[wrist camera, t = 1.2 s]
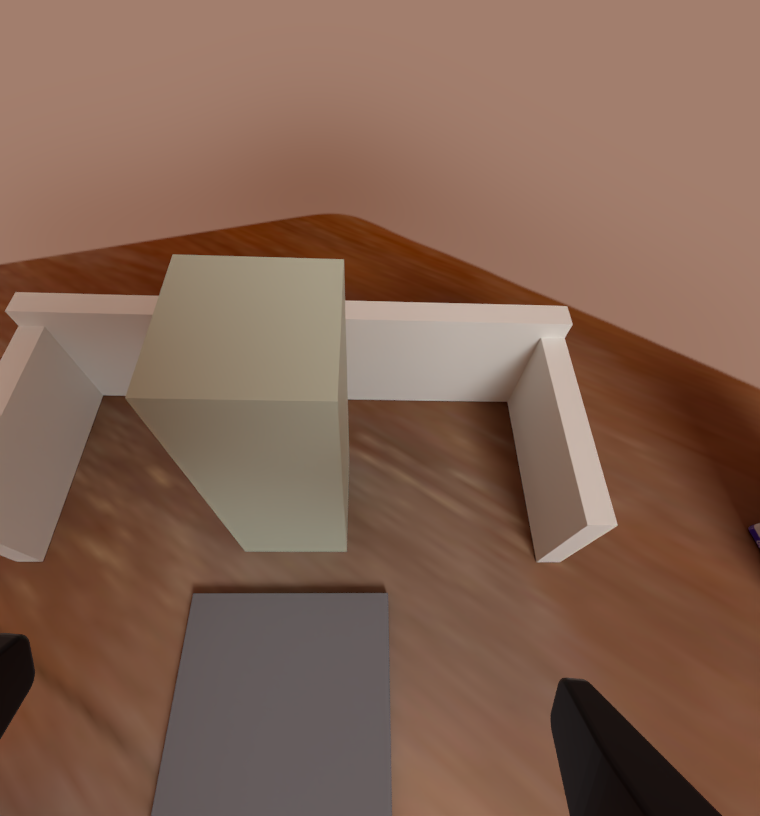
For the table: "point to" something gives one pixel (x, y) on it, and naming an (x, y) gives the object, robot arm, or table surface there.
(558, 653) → the table surface
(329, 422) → the sage block
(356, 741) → the charcoal mat
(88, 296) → the open bay
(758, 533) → the supplement box
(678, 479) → the table surface
